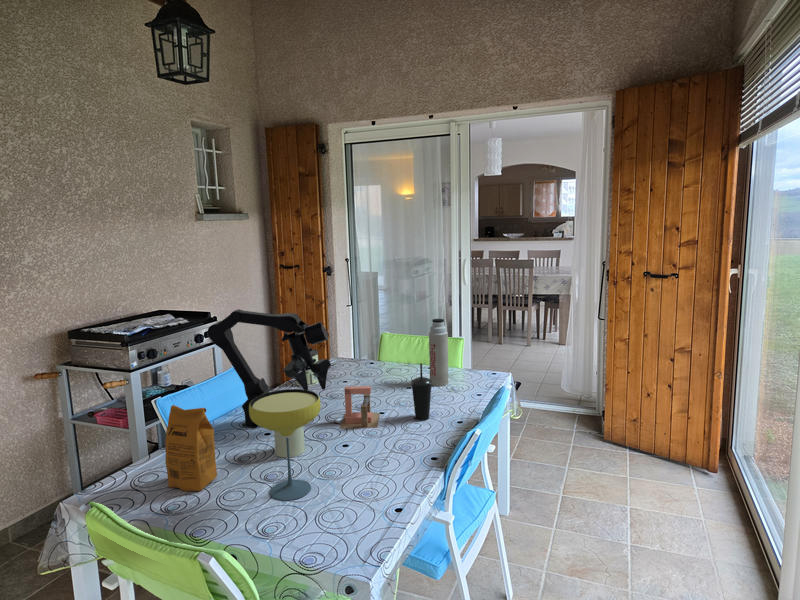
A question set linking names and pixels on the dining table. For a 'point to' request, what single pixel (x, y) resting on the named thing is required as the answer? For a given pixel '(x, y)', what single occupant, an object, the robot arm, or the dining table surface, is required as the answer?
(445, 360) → the thermos bottle
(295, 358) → the robot arm
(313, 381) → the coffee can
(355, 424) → the stand
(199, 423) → the coffee package
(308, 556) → the dining table surface
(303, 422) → the cocktail glass
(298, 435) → the can
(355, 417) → the c link
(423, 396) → the drinking cup
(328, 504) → the dining table surface
